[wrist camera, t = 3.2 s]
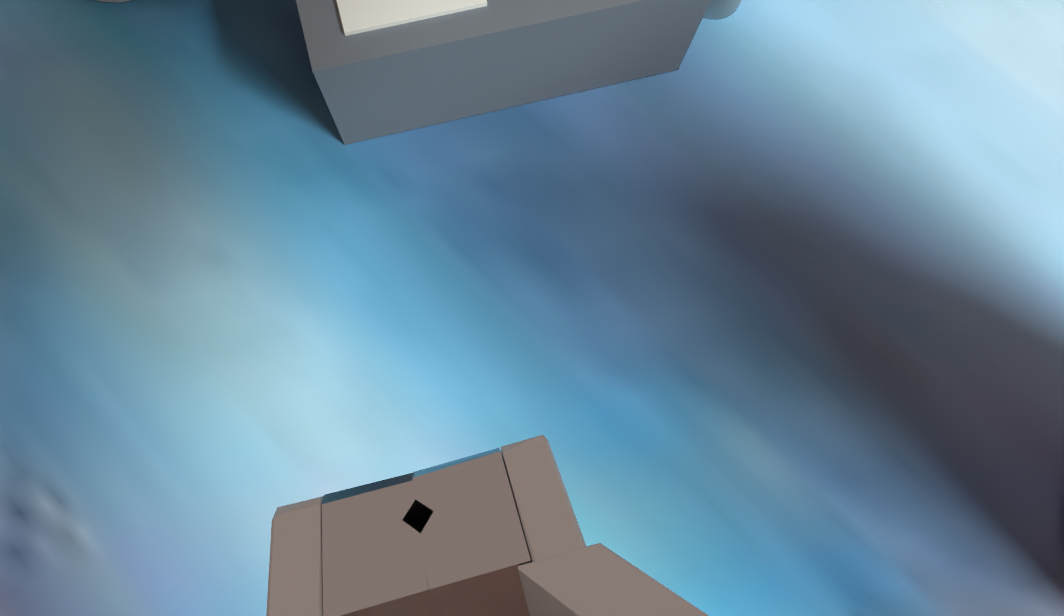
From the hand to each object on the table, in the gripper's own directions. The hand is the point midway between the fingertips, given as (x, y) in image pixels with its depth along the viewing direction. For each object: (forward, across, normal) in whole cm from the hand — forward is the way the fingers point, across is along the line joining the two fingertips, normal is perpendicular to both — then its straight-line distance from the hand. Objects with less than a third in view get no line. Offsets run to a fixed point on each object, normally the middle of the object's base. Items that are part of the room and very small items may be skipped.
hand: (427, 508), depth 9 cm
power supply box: (+27, -7, +3) cm, 28 cm away
